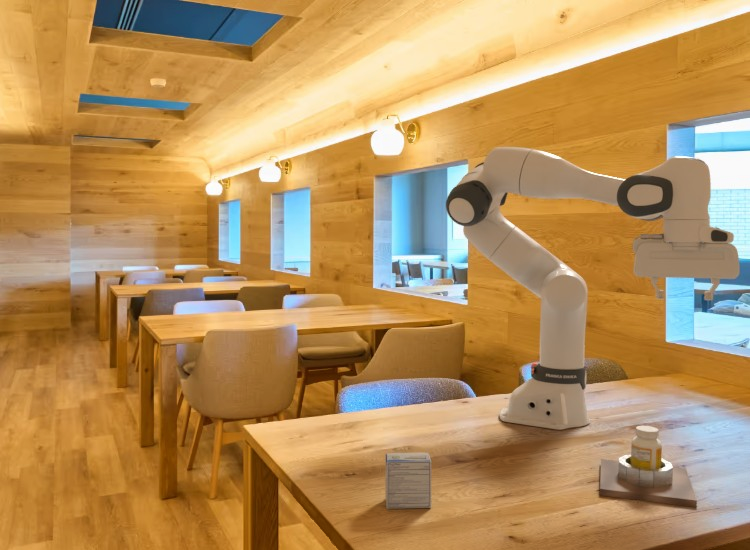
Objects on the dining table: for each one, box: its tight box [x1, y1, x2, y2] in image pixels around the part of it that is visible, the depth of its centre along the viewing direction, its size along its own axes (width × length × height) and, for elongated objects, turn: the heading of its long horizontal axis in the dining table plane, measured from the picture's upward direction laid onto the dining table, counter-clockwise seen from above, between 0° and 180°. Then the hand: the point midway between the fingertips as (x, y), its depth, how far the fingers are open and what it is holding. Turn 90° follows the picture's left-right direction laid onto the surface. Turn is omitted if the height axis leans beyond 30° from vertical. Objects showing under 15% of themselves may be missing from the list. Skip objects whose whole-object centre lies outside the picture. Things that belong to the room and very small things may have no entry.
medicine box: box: [385, 452, 433, 510], centre depth 116 cm, size 8×4×9 cm, turn 92°
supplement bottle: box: [630, 425, 663, 469], centre depth 126 cm, size 5×5×10 cm
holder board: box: [599, 454, 698, 508], centre depth 126 cm, size 16×17×4 cm
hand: (683, 299), depth 140 cm, fingers open, 8 cm apart
